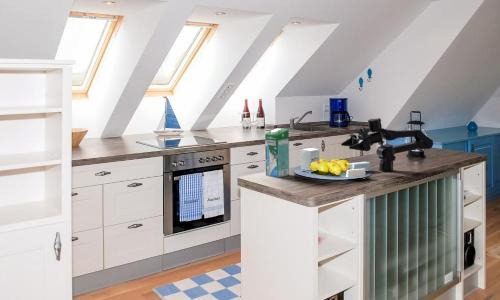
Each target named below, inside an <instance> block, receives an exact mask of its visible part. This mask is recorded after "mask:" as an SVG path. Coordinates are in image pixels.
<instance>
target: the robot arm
mask: <svg viewBox="0 0 500 300" xmlns="http://www.w3.org/2000/svg"><path fill="white" fill-rule="evenodd" d="M381 119H382V118H379V117H378V118H370V119H368V120H367V124H368V128H367V127H365V126H363V125H359V126H357V127H356V128H355V131H356V133H357V134H358V135H356V134H353V133H351V134H348V138H347V139H346V140H344V141H343V142H342V143H340V145H341V146H344V147H348V149H349V150H354V151H355V150H356V151H362V152H369V151H370V150H371V149H372V147H371V146H373V145H374V144H377V145H379V146H378V147H377V148H376V151H375V152H376V154H377V155H376V156H378V159H380V160H379V168H378V171H381V172H383V173H389V172H390V173H391V172H395V169H394V161H396V156H395V155H397V154H400V153H405V152H408V151H413V150H429V149H432V148H433V146H434V140H433V139H432V138H430V137H429V136H428V135H426V134H425V133H424V132H423V131H422V130H421V129H417V128H414V129H401V130H399V129H397V130H395V129H394V130H393V129H387V128H383V127H382V121H381ZM369 132H371V133H369ZM400 138H402V139H403V138H414V140H413V141H412V142H411V141H410V142H406V143H402V144H396V145H393V144H389V143H385V141H388V142H389V141H390V142H391V141H395V140H398V139H400ZM384 143H385V144H384Z"/></svg>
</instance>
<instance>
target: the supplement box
mask: <svg viewBox="0 0 500 300" xmlns="http://www.w3.org/2000/svg"><path fill="white" fill-rule="evenodd" d="M300 153H301V154H300V155H301V157H300V158H301V162H300V163H301V164H300V165H301V167H300V169H305V170H311V169H310V166H311V163H312V162H315V161H319V162H320V148H313V147H309V148H308V147H307V148H303V149H301V151H300Z"/></svg>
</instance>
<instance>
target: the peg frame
mask: <svg viewBox="0 0 500 300" xmlns="http://www.w3.org/2000/svg"><path fill="white" fill-rule="evenodd" d="M347 164H348V167H349V168H346V169H347V171H345V172H344V173H346V177H360V176H365V178H363V179H366V172H365V169H364V168H363V169H352V164H350V163H347ZM363 179H362V180H363Z"/></svg>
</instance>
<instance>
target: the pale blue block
mask: <svg viewBox="0 0 500 300" xmlns="http://www.w3.org/2000/svg"><path fill="white" fill-rule="evenodd" d="M349 164H352V169H363V168H364V169H365V170H370V171H371V162H368V161H360V162H350V163H349Z"/></svg>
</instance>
